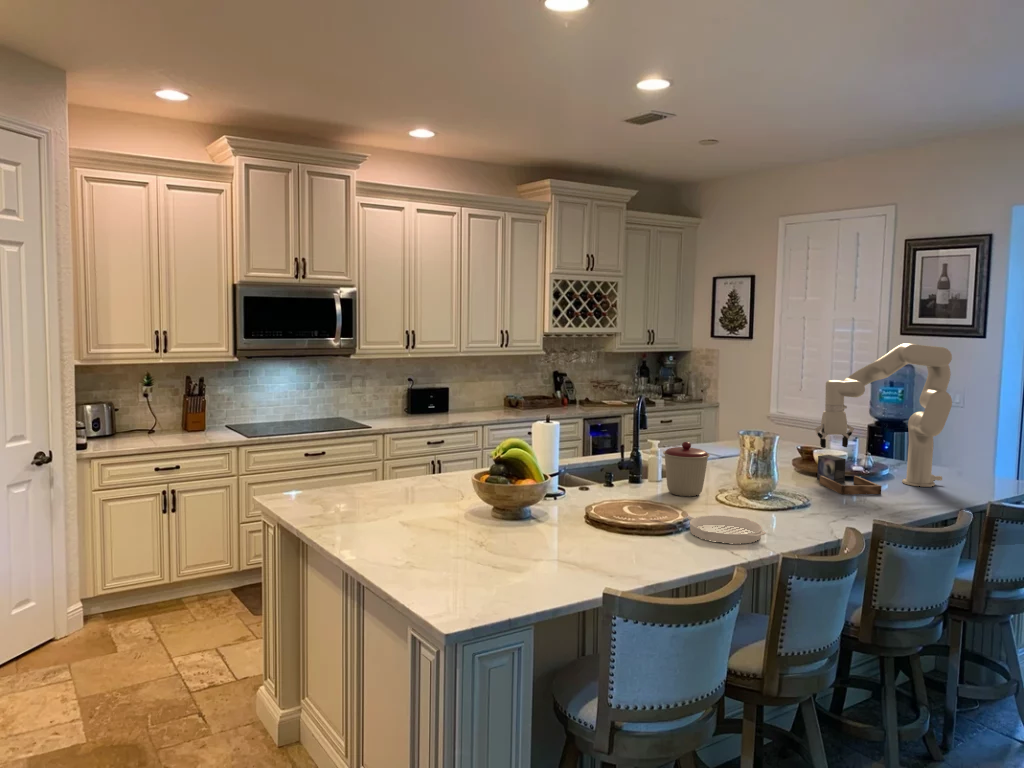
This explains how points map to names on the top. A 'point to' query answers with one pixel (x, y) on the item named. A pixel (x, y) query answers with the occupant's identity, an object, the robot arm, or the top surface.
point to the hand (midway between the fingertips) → (834, 447)
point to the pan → (727, 522)
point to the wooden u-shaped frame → (852, 486)
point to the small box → (831, 468)
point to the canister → (685, 469)
